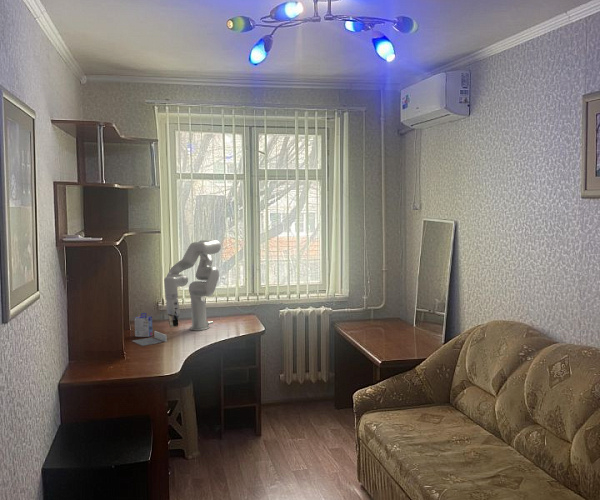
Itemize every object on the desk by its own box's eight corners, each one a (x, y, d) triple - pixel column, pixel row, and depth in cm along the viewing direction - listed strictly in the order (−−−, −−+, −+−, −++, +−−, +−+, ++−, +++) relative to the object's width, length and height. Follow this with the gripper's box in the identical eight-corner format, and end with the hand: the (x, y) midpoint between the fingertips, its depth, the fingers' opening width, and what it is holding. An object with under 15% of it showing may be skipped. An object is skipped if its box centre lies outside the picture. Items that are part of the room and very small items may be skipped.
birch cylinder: (175, 325, 373) (174, 314, 372) (179, 326, 369) (178, 315, 368) (168, 326, 370) (167, 315, 369) (171, 327, 366) (171, 316, 365)
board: (152, 337, 369) (152, 337, 369) (163, 342, 356) (162, 341, 356) (132, 341, 361) (132, 340, 361) (142, 346, 348) (142, 345, 348)
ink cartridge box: (153, 335, 377) (152, 312, 376) (149, 337, 371) (148, 314, 370) (139, 334, 379) (137, 312, 378) (134, 336, 373) (133, 314, 372)
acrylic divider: (155, 337, 370) (155, 331, 370) (166, 341, 358) (166, 335, 357) (154, 337, 370) (154, 331, 369) (165, 341, 357) (165, 335, 357)
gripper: (183, 297, 362) (185, 326, 364) (171, 293, 376) (173, 321, 378) (172, 299, 358) (174, 328, 360) (160, 295, 371) (162, 323, 373)
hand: (173, 324), depth 369 cm, fingers closed on birch cylinder, 5 cm apart
